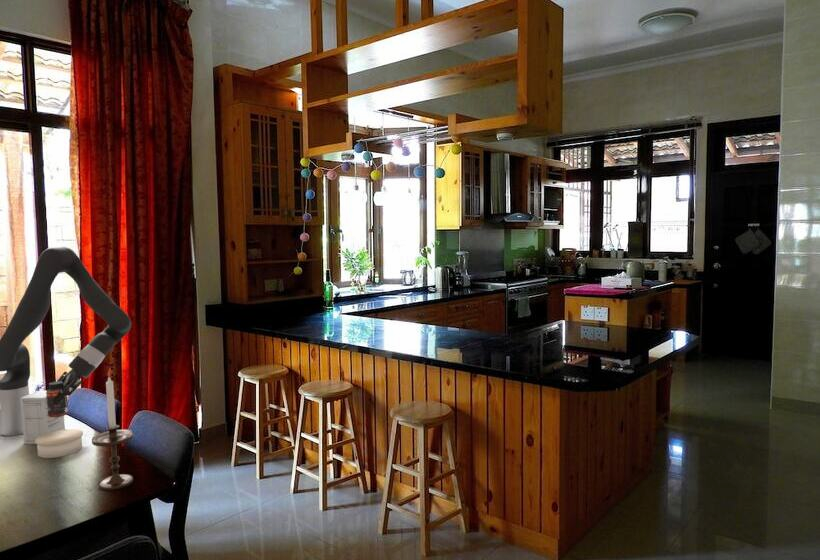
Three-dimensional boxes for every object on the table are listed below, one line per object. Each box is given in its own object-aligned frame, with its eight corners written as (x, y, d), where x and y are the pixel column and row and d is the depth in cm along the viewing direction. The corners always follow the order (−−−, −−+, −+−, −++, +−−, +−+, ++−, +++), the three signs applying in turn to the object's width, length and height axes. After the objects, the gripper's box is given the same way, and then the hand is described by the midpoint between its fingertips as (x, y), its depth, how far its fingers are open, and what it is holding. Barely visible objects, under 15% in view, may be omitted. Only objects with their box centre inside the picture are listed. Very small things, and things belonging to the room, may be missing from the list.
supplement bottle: (72, 413, 197) (70, 381, 196) (55, 419, 192) (52, 385, 191) (61, 411, 200) (58, 379, 199) (44, 416, 194) (41, 384, 193)
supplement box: (66, 435, 212) (63, 390, 210) (48, 444, 203) (44, 397, 201) (42, 434, 213) (38, 390, 211) (23, 444, 204) (19, 397, 202)
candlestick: (143, 482, 170) (135, 365, 167) (104, 495, 162) (96, 373, 159) (126, 472, 177) (119, 360, 174) (88, 485, 169) (80, 367, 166)
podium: (27, 459, 189) (26, 444, 189) (49, 443, 203) (48, 430, 203) (72, 457, 190) (70, 442, 190) (91, 441, 204) (90, 428, 204)
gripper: (72, 351, 204) (35, 392, 197) (84, 357, 194) (47, 400, 187) (89, 363, 209) (54, 403, 201) (103, 370, 198) (67, 412, 191)
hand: (51, 401), depth 194 cm, fingers closed on supplement bottle, 6 cm apart
